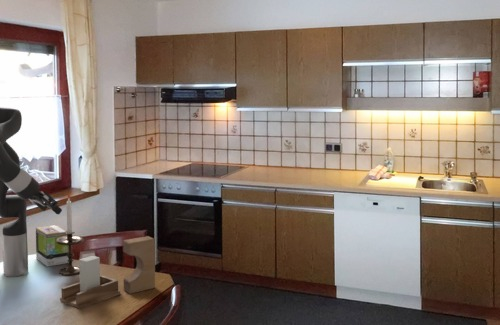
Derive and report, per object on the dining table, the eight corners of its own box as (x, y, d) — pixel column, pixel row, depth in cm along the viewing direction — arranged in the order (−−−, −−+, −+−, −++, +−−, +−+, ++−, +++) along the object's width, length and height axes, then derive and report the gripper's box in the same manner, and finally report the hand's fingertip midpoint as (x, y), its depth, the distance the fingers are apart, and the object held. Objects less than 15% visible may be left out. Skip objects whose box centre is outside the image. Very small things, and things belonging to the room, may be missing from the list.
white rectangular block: (80, 295, 197) (79, 259, 195) (93, 291, 202) (92, 255, 200) (86, 298, 194) (86, 261, 192) (100, 293, 199) (99, 257, 197)
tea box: (69, 263, 236) (68, 230, 234) (46, 267, 230) (45, 234, 228) (57, 254, 248) (57, 223, 246) (35, 258, 242) (34, 226, 240)
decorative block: (129, 294, 202) (128, 243, 199) (123, 289, 206) (122, 239, 203) (155, 288, 208) (155, 239, 206) (149, 284, 213) (148, 235, 210)
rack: (59, 300, 194) (59, 287, 194) (99, 286, 209) (99, 274, 208) (80, 308, 187) (80, 295, 187) (120, 293, 202) (120, 281, 201)
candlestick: (88, 268, 229) (86, 189, 225) (77, 277, 219) (75, 193, 214) (64, 267, 231) (62, 188, 226) (52, 275, 220) (49, 192, 215)
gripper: (40, 176, 174) (71, 204, 185) (16, 171, 182) (47, 199, 193) (26, 194, 170) (58, 222, 181) (2, 189, 179) (34, 216, 189)
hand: (52, 210), depth 187 cm, fingers open, 8 cm apart
